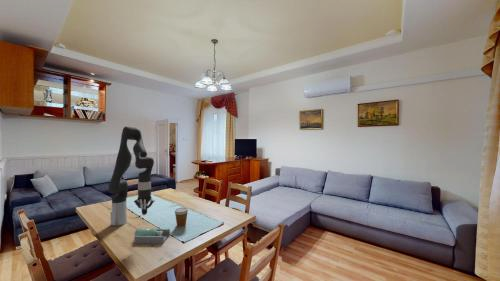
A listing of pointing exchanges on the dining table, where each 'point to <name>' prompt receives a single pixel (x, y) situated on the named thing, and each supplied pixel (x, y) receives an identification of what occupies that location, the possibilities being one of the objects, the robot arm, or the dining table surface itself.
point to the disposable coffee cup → (181, 216)
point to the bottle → (148, 232)
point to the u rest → (153, 237)
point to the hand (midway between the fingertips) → (144, 214)
